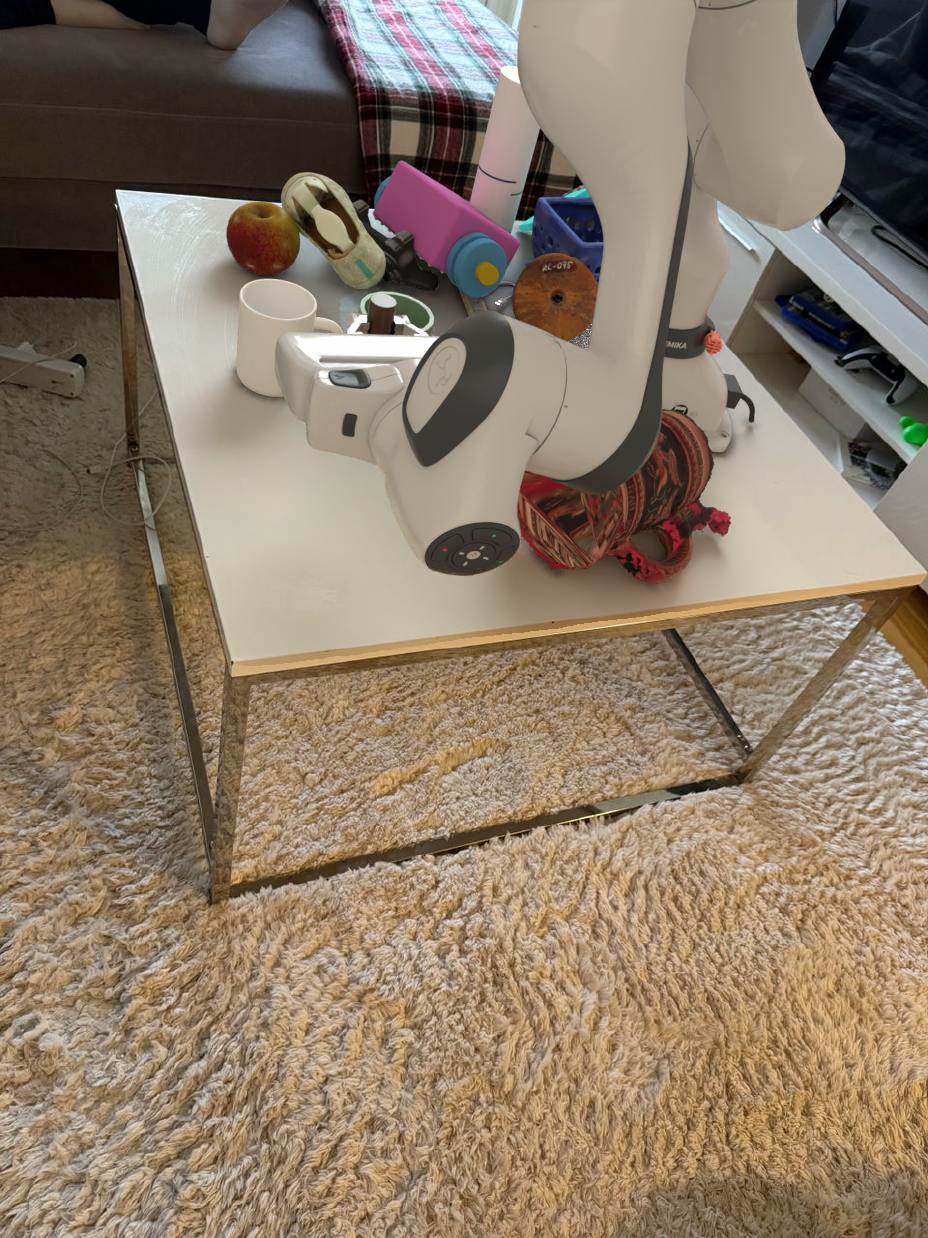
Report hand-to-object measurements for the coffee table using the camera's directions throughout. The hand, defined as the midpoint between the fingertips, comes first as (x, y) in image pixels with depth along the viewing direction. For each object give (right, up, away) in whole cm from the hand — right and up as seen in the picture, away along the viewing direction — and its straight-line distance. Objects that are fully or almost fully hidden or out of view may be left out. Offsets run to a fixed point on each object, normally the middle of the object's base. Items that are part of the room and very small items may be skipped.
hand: (376, 320), depth 80 cm
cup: (-13, +1, +24) cm, 27 cm away
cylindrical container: (+11, +29, +57) cm, 65 cm away
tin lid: (-1, -4, +3) cm, 5 cm away
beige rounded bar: (+8, +17, +44) cm, 48 cm away
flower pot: (+24, +22, +54) cm, 63 cm away
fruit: (-19, +20, +39) cm, 48 cm away
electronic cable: (+14, +21, +48) cm, 54 cm away
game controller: (-4, +22, +45) cm, 51 cm away
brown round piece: (+20, +17, +40) cm, 48 cm away
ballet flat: (-9, +25, +39) cm, 47 cm away
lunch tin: (-2, +3, +30) cm, 30 cm away
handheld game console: (+22, +37, +57) cm, 71 cm away
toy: (+1, +28, +39) cm, 48 cm away
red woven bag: (+20, -6, +20) cm, 29 cm away
